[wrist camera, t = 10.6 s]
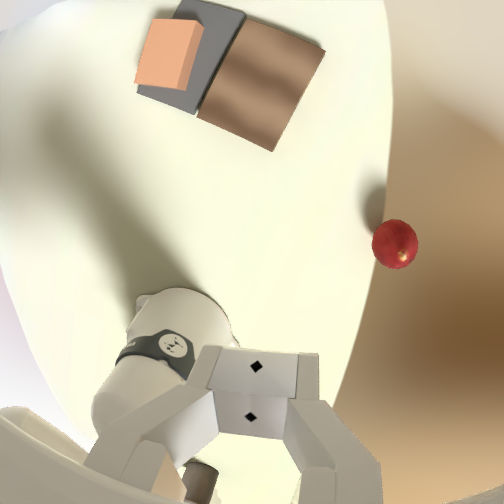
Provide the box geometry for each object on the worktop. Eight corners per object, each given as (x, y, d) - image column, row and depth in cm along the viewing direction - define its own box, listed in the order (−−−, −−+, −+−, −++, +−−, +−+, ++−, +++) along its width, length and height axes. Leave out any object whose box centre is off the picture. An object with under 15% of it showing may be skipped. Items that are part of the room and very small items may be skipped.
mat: (194, 114, 35) (192, 114, 34) (139, 93, 34) (136, 92, 34) (246, 15, 28) (245, 13, 28) (186, -1, 28) (184, -3, 27)
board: (273, 151, 35) (271, 152, 33) (201, 117, 35) (196, 117, 33) (324, 54, 29) (325, 50, 27) (249, 23, 29) (247, 18, 27)
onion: (415, 235, 36) (437, 259, 29) (384, 262, 38) (399, 292, 31) (390, 203, 35) (410, 222, 28) (358, 233, 37) (370, 257, 30)
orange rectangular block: (185, 90, 33) (176, 88, 30) (145, 85, 33) (133, 83, 30) (204, 27, 29) (196, 20, 26) (163, 25, 29) (152, 18, 27)
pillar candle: (223, 470, 68) (211, 512, 55) (212, 478, 72) (200, 516, 59) (192, 458, 68) (176, 500, 54) (183, 467, 72) (168, 505, 58)
